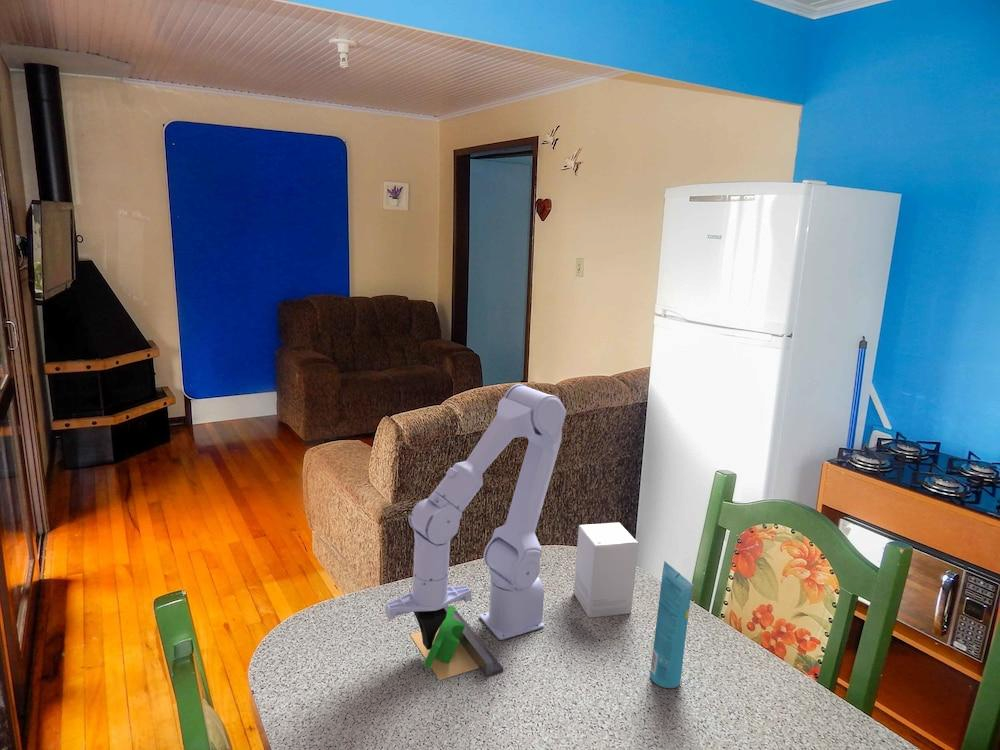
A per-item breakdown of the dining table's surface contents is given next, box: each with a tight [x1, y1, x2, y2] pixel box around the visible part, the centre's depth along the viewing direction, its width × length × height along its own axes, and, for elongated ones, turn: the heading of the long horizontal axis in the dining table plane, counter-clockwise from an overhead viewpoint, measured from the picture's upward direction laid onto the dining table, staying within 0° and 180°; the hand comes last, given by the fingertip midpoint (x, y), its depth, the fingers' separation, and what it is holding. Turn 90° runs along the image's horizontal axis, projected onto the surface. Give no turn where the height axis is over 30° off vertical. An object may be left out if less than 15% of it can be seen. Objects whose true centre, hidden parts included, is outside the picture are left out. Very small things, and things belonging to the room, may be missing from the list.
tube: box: [649, 560, 694, 689], centre depth 104 cm, size 7×5×19 cm, turn 26°
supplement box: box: [573, 521, 639, 619], centre depth 125 cm, size 9×9×15 cm
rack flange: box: [409, 605, 504, 681], centre depth 111 cm, size 10×18×2 cm, turn 29°
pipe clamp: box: [423, 604, 466, 669], centre depth 109 cm, size 11×4×5 cm, turn 170°
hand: (427, 646), depth 108 cm, fingers closed, pressing on pipe clamp
